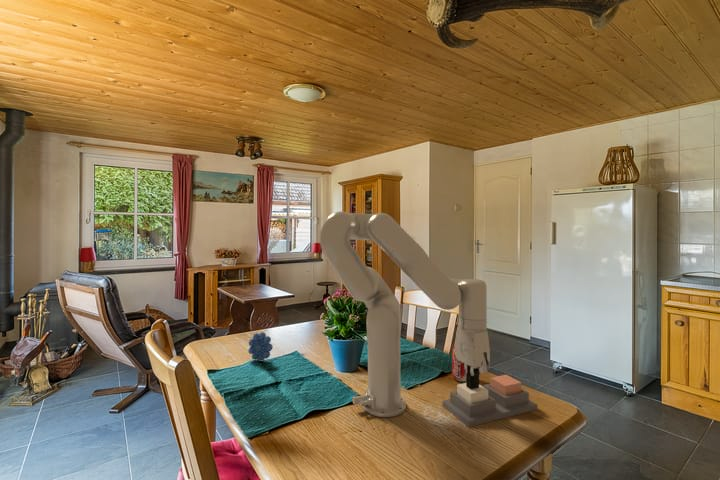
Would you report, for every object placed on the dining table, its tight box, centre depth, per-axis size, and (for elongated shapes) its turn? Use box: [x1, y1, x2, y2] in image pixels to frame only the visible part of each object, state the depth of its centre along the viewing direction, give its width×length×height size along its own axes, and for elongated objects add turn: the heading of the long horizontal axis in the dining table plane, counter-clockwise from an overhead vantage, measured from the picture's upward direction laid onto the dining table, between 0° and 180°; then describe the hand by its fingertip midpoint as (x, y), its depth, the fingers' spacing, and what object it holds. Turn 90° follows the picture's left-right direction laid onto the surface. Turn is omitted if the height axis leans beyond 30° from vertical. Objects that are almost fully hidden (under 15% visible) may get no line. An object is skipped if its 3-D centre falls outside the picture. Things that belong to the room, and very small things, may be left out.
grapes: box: [248, 331, 273, 361], centre depth 141 cm, size 12×7×12 cm, turn 65°
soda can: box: [451, 342, 466, 383], centre depth 122 cm, size 7×7×12 cm
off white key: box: [456, 382, 488, 404], centre depth 100 cm, size 6×6×3 cm
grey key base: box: [441, 383, 538, 428], centre depth 103 cm, size 24×12×4 cm, turn 111°
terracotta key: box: [489, 374, 522, 396], centre depth 105 cm, size 6×6×3 cm
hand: (472, 387), depth 100 cm, fingers closed
